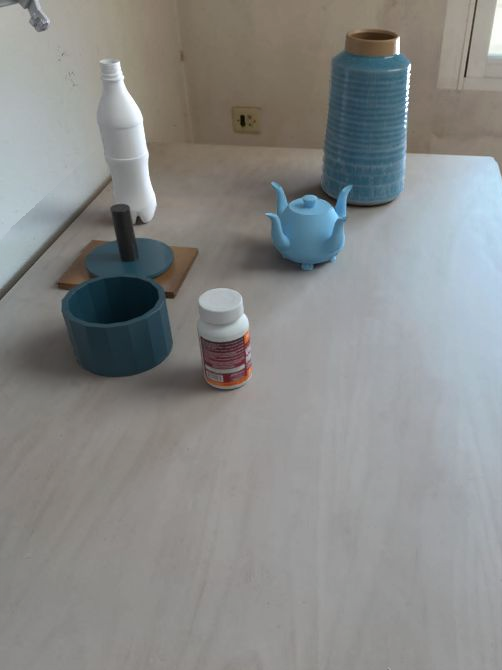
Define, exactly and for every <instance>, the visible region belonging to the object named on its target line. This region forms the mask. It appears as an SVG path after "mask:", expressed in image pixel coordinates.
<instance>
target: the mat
mask: <svg viewBox="0 0 502 670" xmlns="http://www.w3.org/2000/svg"><path fill="white" fill-rule="evenodd" d="M111 241H112V240H103V239H102V240H100V239H91V241H89V243H88V244H87V245H86V246H85V248H84V249H83V250H82V251H81V253H79V255H78V256H77V257H76V258H75V260H74V261H73V262H72V263H71V264H70V265H69V266H68V268H67V269H66V270H65V272H64V273H63V274H62V275H61V277H60V278H59V279H58V280H57V282H56V285H57V288H58V289H64V290H70V289H72V288H74V287H75V286H77V285H79V284H80V283H82V282H84V281H87V280H90V279H93V278H95V277H94V276H92V275H91V274H90V273H89V272H88V271H87V269H86V265H85V260H86V257H87V256H88V254H89V253H90V252H91V251H92V250H94V249H95V248H97V247H98V246H100V245H103V244H105V243H108V242H111ZM168 246H169V247H170V248H171V249H172V251H173V254H174V261H173V264H172V265H171V267H170V268H169V269H168V270H166V271H165V272H164V273H162V274H160V275H158V276H156V277H153V278H151V279H153V280H155V281H156V282H157V283H158V284H159V285H161V286H162V287H163V288H164V293H165V298H167V299H175V298H176V296H177V294H178V293H179V291H180V288H181V287H182V285H183V283H184V282H185V280H186V278H187V276H188V274H189V272H190V270H191V269H192V268H193V265H194V264H195V261H196V259H197V258H198V256H199V254H200V253H199V248H198V247H189V246H177V245H168Z"/></svg>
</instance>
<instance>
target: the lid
mask: <svg viewBox="0 0 502 670" xmlns="http://www.w3.org/2000/svg"><path fill="white" fill-rule="evenodd" d="M109 211H110V216H111V220H112V225H113V230H114V234H115V240H110V241H111V242H108V243H105V244H103V245H100V246H98V247H97V248H95V249H94V250H92V251H91V252H90V253H89V254H88V256H87V257H86V260H85V265H86V269H87V271H88V272H89V273H90V274H91V275H92V276H94V277H95V278H96V277H99V276H104V275H113V274H135V275H141V276H144V277H147V278H150V279H151V278H153V277H156V276H158V275H160V274H162V273H164V272H165V271H166V270H168V269H169V268H170V267H171V265H172V264H173V261H174V254H173V251H172V249H171V248H170V247H169V246H170V245H168V244H166V243H165V242H162V241H160V240H158V239H153V238H148V237H136V233H135V228H134V224H133V222H132V217H131V212H130V207H129V206H128V205H126V204H116V205H114V204H113V205H111V206H110V208H109Z"/></svg>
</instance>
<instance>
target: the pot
mask: <svg viewBox="0 0 502 670" xmlns="http://www.w3.org/2000/svg"><path fill="white" fill-rule="evenodd" d="M60 307H61V309H60V310H61V314H62V318H63V321H64V325H65V327H66V331H67V335H68V337H69V341H70V344H71V348H72V351H73V354H74V357H75V358H76V360H77V362H78V364H79V365H80V366H81V367H82V368H83V369H85V370H86V371H88V372H90V373H92V374H95V375H99V376H103V377H115V378H116V377H129V376H134V375H137V374H141V373H144V372H146V371H149V370H151V369H153V368H155V367H157V366H158V365H160V364H161V363H163V362H164V361H165V360H166V359H167V358H168V356H169V355H170V354H171V352H172V350H173V345H174V341H173V335H172V327H171V322H170V317H169V309H168V303H167V297H165V293H164V288H163V287H162V286H161V285H159V284H158V283H157V282H156V281H155V280H153V279H150V278H147V277H144V276H141V275H135V274H113V275H104V276H99V277H96V278H93V279H90V280H87V281H84V282H82V283H80V284H79V285H77V286H75V287H74V288H72V289H68V291H67V292H66V294H65V295H64V296H63V298H62V299H61V306H60Z"/></svg>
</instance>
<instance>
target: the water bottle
mask: <svg viewBox="0 0 502 670" xmlns="http://www.w3.org/2000/svg"><path fill="white" fill-rule="evenodd" d="M99 68H100V75H101V76H100V80H101V81H102V91H101V96H100V99H99V102H98V107H97V111H96V123H97V125H98V128H99V129H98V130H99V134H100V138H101V142H102V148H103V156H104V160H105V163H106V165H107V167H108V171H109V172H110V178H111V181H112V200H113V205H116V204H126V205H128V206H129V207H130V212H131V217H132V222H133V225H135V224H136V223H137V217H139V218H140V220H141V221H142V223H145V224H146V223H149V222H151V221H152V219H153V217H154V215H155V213H156V210H157V199H156V193H155V191H154V189H153V185H152V183H151V177H150V171H149V156H150V153H149V149H148V146H147V140H146V135H145V128H144V123H143V122H144V118H143V114H142V111H141V110H140V108H139V106H138V105H137V103H136V101H135V100H134V98H133V97H132V96H131V94H130V92H129V91H128V89H127V87H126V84H125V82H124V80H125V76H124V74H123V71H122V67H121V61H120V59H116V58H104V59H100V60H99Z"/></svg>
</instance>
